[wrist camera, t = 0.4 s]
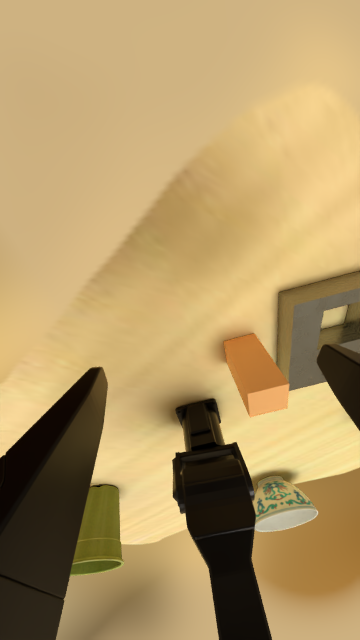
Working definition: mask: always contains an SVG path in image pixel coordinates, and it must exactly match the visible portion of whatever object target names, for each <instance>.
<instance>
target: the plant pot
mask: <svg viewBox="0 0 360 640" xmlns="http://www.w3.org/2000/svg"><path fill="white" fill-rule="evenodd" d="M122 565H124V561H123V560H122V555H121V542H120V515H119V491H118V489H117V488H116V487H114V486H109V485H103V486H101V487H91V488H89V492H88V497H87V501H86V506H85V510H84V515H83V519H82V524H81V528H80V533H79V537H78V541H77V546H76V550H75V555H74V559H73V564H72V568H71V573H70V576H77V575H89V574H95V573H101V572H106V571H110V570H114V569H117V568H119V567H121V566H122Z"/></svg>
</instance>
